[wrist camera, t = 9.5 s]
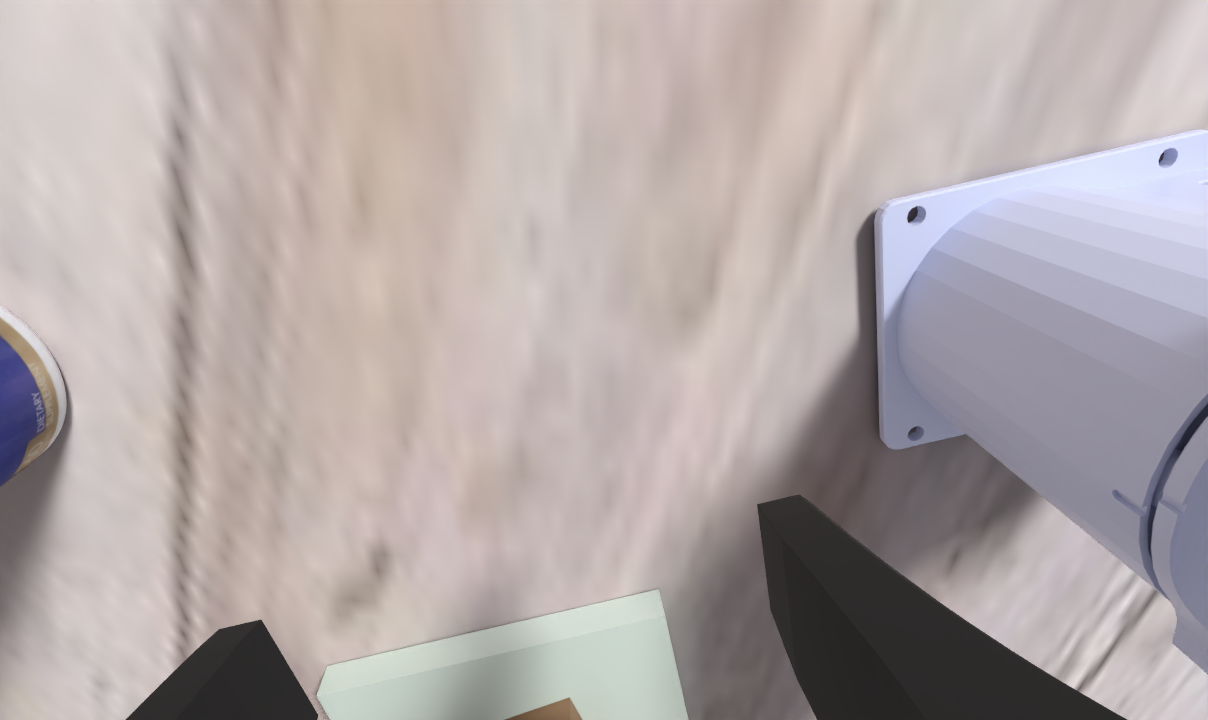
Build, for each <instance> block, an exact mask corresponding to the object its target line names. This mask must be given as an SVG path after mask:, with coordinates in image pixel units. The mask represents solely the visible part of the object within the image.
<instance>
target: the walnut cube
mask: <svg viewBox="0 0 1208 720" xmlns="http://www.w3.org/2000/svg"><path fill="white" fill-rule="evenodd" d="M505 720H582V718H581V716H580V714H579V713H578V711H577V709H576V708H575V706H574V704H573V702H572V701H571V699H570V697H569V698H566V699H563V700H560V701H557V702H554V703H551V704H548V705H546V706H543V707H540V708H537V709H534V710H531V711H528V712H525V713H522V714H519V715H516V716H513V717H510V718H508V719H505Z"/></svg>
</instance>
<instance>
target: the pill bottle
mask: <svg viewBox="0 0 1208 720" xmlns="http://www.w3.org/2000/svg"><path fill="white" fill-rule="evenodd" d="M66 407H67V401H66V392H65V386H64V382H63V379H62V375H61V372H60V370H59V368H58V366H57V364H56V361H55V360H54V358H53V356H52V354H51V353H50V351H49V350H48V348H47V347H46V346H45V344H44V343H43V342H42V341H41V339H40V338H39V337H38V336H37V335H36V334H35V333H34V332H33V331H32V330H31V329H30V328H29V327H28V326H27V325H26V324H25V323H24V322H22V321H21V320H20V319H19V318H18V317H16V316H15V315H14V314H12V313H11V312H9V311H8V310H6V309H5V308H3V307H2V306H0V486H2V485H3V484H4V483H5V482H7V481H8V480H9V479H11V478H12V477H13V476H15V475H16V474H17V473H19V472H20V471H21V470H23V469H24V468H25V467H26V466H28V465H29V464H30V463H31V462H33V461H34V460H35V459H36V458H38V457H39V456H40V455H41V454H42V453H43V452H44V451H45V450H46V449H48V448H49V446H50V445H51V444H52V443H53V442H54V440H55V439H56V438H57V436H58V434H59V432H60V430H61V428H62V426H63V423H64V419H65V415H66Z"/></svg>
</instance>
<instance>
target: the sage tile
mask: <svg viewBox="0 0 1208 720" xmlns="http://www.w3.org/2000/svg"><path fill="white" fill-rule="evenodd" d="M316 697H317V698H318V700H319V702H320V703H321V705H322V707H323V709H324V710H325V712H326V714H327V715H328V717H329V719H330V720H505V719H508V718H510V717H513V716H516V715H519V714H522V713H525V712H528V711H531V710H534V709H537V708H540V707H543V706H546V705H548V704H551V703H554V702H557V701H560V700H563V699H566V698H569V697H570V699H571V701H572V702H573V704H574V706H575V708H576V709H577V711H578V713H579V714H580V716H581V718H582V720H689V719H688V715H687V710H686V706H685V702H684V697H683V693H682V688H681V684H680V679H679V675H678V671H677V666H676V662H675V657H674V653H673V648H672V644H671V639H670V635H669V631H668V626H667V622H666V617H665V613H664V609H663V605H662V601H661V596H660V592H659V589H657V590H653V591H648V592H644V593H640V594H636V595H631V596H627V597H623V598H618V599H614V600H610V601H605V602H601V603H597V604H592V605H588V606H584V607H580V608H575V609H571V610H567V611H562V612H558V613H554V614H549V615H545V616H541V617H536V618H532V619H528V620H524V621H519V622H515V623H511V624H506V625H502V626H498V627H493V628H489V629H485V630H480V631H476V632H472V633H468V634H463V635H459V636H455V637H450V638H446V639H442V640H437V641H433V642H429V643H424V644H420V645H416V646H411V647H407V648H403V649H399V650H394V651H390V652H386V653H381V654H377V655H373V656H368V657H364V658H360V659H355V660H351V661H347V662H343V663H338V664H334V665H330V666H327V668H326V671H325V674H324V676H323V679H322V682H321V685H320V687H319V690H318V693H317V696H316Z"/></svg>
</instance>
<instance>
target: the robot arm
mask: <svg viewBox="0 0 1208 720" xmlns="http://www.w3.org/2000/svg"><path fill="white" fill-rule="evenodd" d="M1163 152H1164V157H1163V160H1162V161H1161V162H1160V163H1159V158H1160V155H1161V154H1162V153H1163ZM916 206H917V209H918V214H917V216H916V218H915V219H914V220H913V221H911V222H909V223H908V220H907V216H908V213H909V211H910V210H911V209H912V208H914V207H916ZM874 231H875V271H876V310H877V349H878V389H879V428H880V438H881V440H882V441H883V442H884V443H885V445H886V446H887V447H888V448H890V449H893V450H899V449H904V448H908V447H913V446H917V445H921V444H926V443H930V442H934V441H939V440H943V439H947V438H952V437H956V436H960V435H964V434H967V435H968V436H969V437H970V438H972V439H973V440H974V441H975V442H977V443H978V444H979V445H980V446H981V447H983V448H984V449H985V450H986V451H987V452H989V453H990V454H991V455H992V456H994V457H995V458H996V459H997V460H998V461H1000V462H1001V463H1002V464H1003V465H1005V466H1006V467H1007V468H1008V469H1009V470H1011V471H1012V472H1013V473H1014V474H1016V475H1017V476H1018V477H1019V478H1020V479H1022V480H1023V481H1024V482H1025V483H1026V484H1028V485H1029V486H1030V487H1031V488H1033V489H1034V490H1035V491H1036V492H1037V493H1039V494H1040V495H1041V496H1042V497H1044V498H1045V499H1046V500H1047V501H1048V502H1050V503H1051V504H1052V505H1053V506H1055V507H1056V508H1057V509H1058V510H1059V511H1061V512H1062V513H1063V514H1064V515H1065V516H1067V517H1068V518H1069V519H1070V520H1072V521H1073V522H1074V523H1075V524H1076V525H1078V526H1079V527H1080V528H1081V529H1083V530H1084V531H1085V532H1086V533H1087V534H1089V535H1090V536H1091V537H1092V538H1094V539H1095V540H1096V541H1097V542H1098V543H1100V544H1101V545H1102V546H1103V547H1105V548H1106V549H1107V550H1108V551H1109V552H1111V553H1112V554H1113V555H1114V556H1115V557H1117V558H1118V559H1119V560H1120V561H1122V562H1123V563H1124V564H1125V565H1126V566H1128V567H1129V568H1130V569H1131V570H1133V571H1134V572H1135V573H1136V574H1137V575H1139V576H1140V577H1141V578H1142V579H1144V580H1145V581H1146V582H1147V583H1148V584H1150V585H1151V586H1152V587H1153V588H1154V589H1156V590H1157V591H1158V592H1159V593H1161V594H1162V595H1163V596H1164V597H1165V598H1167V599H1168V600H1169V601H1170V602H1171V603H1172V605H1173V607H1174V608H1175V611H1176V616H1177V626H1176V629H1175V633H1174V636H1173V644H1174V645H1175V646H1176V647H1177V648H1178V649H1180V650H1181V651H1182V652H1183V653H1184V654H1185V655H1186V656H1188V657H1189V658H1190V659H1191V660H1192V661H1193V662H1194V663H1195V664H1197V665H1198V666H1199V667H1200V668H1201V669H1202V670H1203V671H1205V672H1206V673H1207V674H1208V130H1192V131H1188V132H1183V133H1179V134H1175V135H1170V136H1166V137H1162V138H1157V139H1153V140H1149V141H1144V142H1140V143H1136V144H1131V145H1127V146H1122V147H1118V148H1114V149H1109V150H1105V151H1101V152H1096V153H1092V154H1088V155H1083V156H1079V157H1075V158H1070V159H1066V160H1061V161H1057V162H1053V163H1048V164H1044V165H1040V166H1035V167H1031V168H1027V169H1022V170H1018V171H1014V172H1009V173H1005V174H1000V175H996V176H992V177H987V178H983V179H979V180H974V181H970V182H966V183H961V184H957V185H953V186H948V187H944V188H939V189H935V190H931V191H926V192H922V193H918V194H913V195H909V196H905V197H900V198H896V199H892V200H889V201H887V202H885V203H884V204H883V205H882V206H880V207H879V209H878V211H877V212H876V214H875V220H874ZM916 426H917V428H916V430H915V431H914V432H913V433H911V434H908V433H909V431H910V430H911V429H912V428H914V427H916ZM757 506H758V514H759V522H760V530H761V538H762V545H763V553H764V561H765V569H766V577H767V584H768V592H769V600H770V608H771V611H772V614H773V617H774V620H775V622H776V625H777V628H778V630H779V633H780V636H781V638H782V641H783V644H784V646H785V649H786V652H787V654H788V657H789V659H790V662H791V664H792V667H793V670H794V672H795V675H796V677H797V680H798V682H799V684H800V686H801V688H802V690H803V692H804V694H805V696H806V698H807V700H808V702H809V704H810V706H811V708H812V710H813V712H814V714H815V716H816V718H817V720H1127V719H1125V718H1123V717H1121V716H1120V715H1118V714H1116V713H1114V712H1113V711H1111V710H1109V709H1107V708H1106V707H1104V706H1102V705H1101V704H1099V703H1097V702H1095V701H1094V700H1092V699H1090V698H1089V697H1087V696H1085V695H1083V694H1082V693H1080V692H1078V691H1077V690H1075V689H1073V688H1071V687H1070V686H1068V685H1066V684H1065V683H1063V682H1061V681H1060V680H1058V679H1056V678H1055V677H1053V676H1051V675H1050V674H1048V673H1046V672H1045V671H1043V670H1042V669H1040V668H1038V667H1037V666H1035V665H1033V664H1032V663H1030V662H1029V661H1027V660H1026V659H1024V658H1022V657H1021V656H1019V655H1018V654H1016V653H1014V652H1013V651H1011V650H1010V649H1008V648H1007V647H1005V646H1004V645H1002V644H1001V643H999V642H998V641H996V640H995V639H993V638H992V637H990V636H988V635H987V634H985V633H984V632H982V631H981V630H979V629H978V628H976V627H975V626H973V625H972V624H970V623H969V622H967V621H966V620H964V619H963V618H962V617H960V616H959V615H957V614H956V613H954V612H953V611H951V610H950V609H949V608H947V607H946V606H944V605H943V604H941V603H940V602H938V601H937V600H936V599H934V598H933V597H932V596H930V595H929V594H927V593H926V592H925V591H923V590H922V589H921V588H919V587H918V586H916V585H915V584H914V583H912V582H911V581H910V580H908V579H907V578H906V577H904V576H903V575H901V574H900V573H899V572H897V571H896V570H895V569H893V568H892V567H891V566H889V565H888V564H887V563H885V562H884V561H883V560H881V559H880V558H879V557H877V556H876V555H875V554H874V553H872V552H871V551H870V550H868V549H867V548H866V547H865V546H863V545H862V544H861V543H860V542H858V541H857V540H856V539H854V538H853V537H852V536H851V535H849V534H848V533H847V532H846V531H844V530H843V529H842V528H841V527H840V526H838V525H837V524H836V523H835V522H833V521H832V520H831V519H830V518H829V517H827V516H826V515H825V514H824V513H822V512H821V511H820V510H819V509H818V508H816V507H815V506H814V505H813V504H812V503H810V502H809V501H808V500H807V499H805V498H804V497H802V496H800V495H796V496H791V497H787V498H783V499H779V500H774V501H770V502H766V503H761V504H757ZM317 718H318V714H317V712H316V711H315V709H314V707H313V706H312V704H311V702H310V701H309V699H308V697H307V695H306V694H305V692H304V690H303V689H302V687H301V685H300V684H299V682H298V680H297V679H296V677H295V675H294V674H293V672H292V670H291V669H290V667H289V665H288V664H287V662H286V660H285V659H284V657H283V655H282V654H281V652H280V650H279V649H278V647H277V645H276V644H275V642H274V640H273V638H272V637H271V635H270V633H269V632H268V630H267V628H266V627H265V625H264V623H263V622H262V620H257V621H253V622H249V623H244V624H240V625H236V626H231V627H227V628H223V629H219V630H218V631H217V632H216V633H215V634H214V635H212V636H211V637H210V638H209V639H208V640H207V641H206V642H204V643H203V644H202V645H201V646H200V647H199V648H198V649H197V650H196V651H195V652H194V653H193V654H192V655H191V656H190V657H188V658H187V659H186V660H185V661H184V662H183V663H182V664H181V665H180V666H179V667H178V668H177V669H176V670H175V671H174V672H173V673H172V674H171V675H170V676H169V677H168V678H167V679H166V680H165V681H164V682H163V683H162V684H161V685H160V686H159V687H158V688H157V689H156V690H155V691H154V692H153V693H152V694H151V695H150V696H149V697H148V698H147V699H146V700H145V701H144V702H143V703H142V704H141V705H140V706H139V707H138V708H137V709H136V710H135V711H134V712H133V713H132V714H131V715H130V716H129V717H128V718H127V719H126V720H317Z"/></svg>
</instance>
